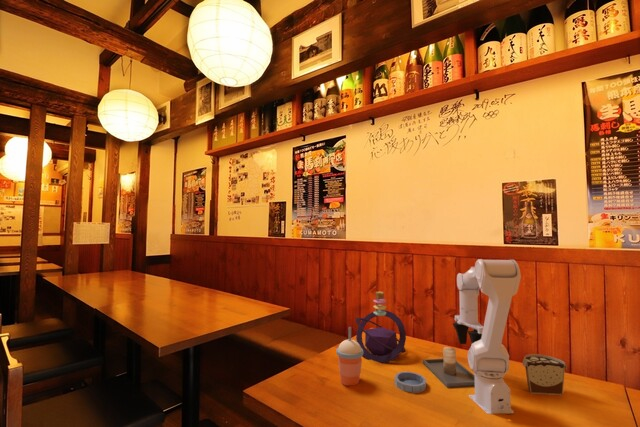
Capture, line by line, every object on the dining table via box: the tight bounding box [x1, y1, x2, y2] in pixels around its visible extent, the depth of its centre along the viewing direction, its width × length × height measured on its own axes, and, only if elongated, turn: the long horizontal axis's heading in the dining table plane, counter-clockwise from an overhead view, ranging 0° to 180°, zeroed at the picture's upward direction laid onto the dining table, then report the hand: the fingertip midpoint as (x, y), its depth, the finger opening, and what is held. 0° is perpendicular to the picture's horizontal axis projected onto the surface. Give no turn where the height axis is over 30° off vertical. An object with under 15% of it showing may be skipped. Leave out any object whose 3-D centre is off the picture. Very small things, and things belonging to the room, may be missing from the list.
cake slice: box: [522, 353, 568, 396], centre depth 101 cm, size 12×6×10 cm, turn 84°
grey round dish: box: [394, 371, 427, 394], centre depth 102 cm, size 10×10×2 cm
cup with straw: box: [335, 326, 364, 387], centre depth 106 cm, size 9×9×18 cm
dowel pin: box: [442, 346, 457, 375], centre depth 110 cm, size 4×4×8 cm
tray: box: [422, 358, 475, 389], centre depth 110 cm, size 18×12×2 cm, turn 6°
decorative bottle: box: [355, 291, 407, 364], centre depth 129 cm, size 22×21×25 cm
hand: (469, 347), depth 109 cm, fingers open, 7 cm apart
